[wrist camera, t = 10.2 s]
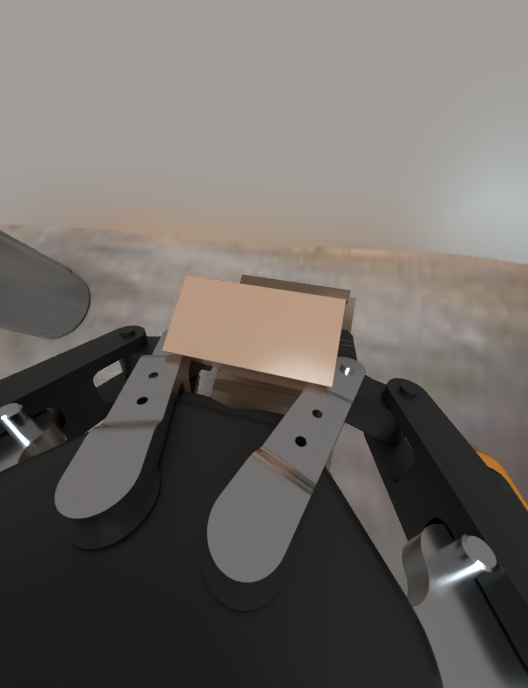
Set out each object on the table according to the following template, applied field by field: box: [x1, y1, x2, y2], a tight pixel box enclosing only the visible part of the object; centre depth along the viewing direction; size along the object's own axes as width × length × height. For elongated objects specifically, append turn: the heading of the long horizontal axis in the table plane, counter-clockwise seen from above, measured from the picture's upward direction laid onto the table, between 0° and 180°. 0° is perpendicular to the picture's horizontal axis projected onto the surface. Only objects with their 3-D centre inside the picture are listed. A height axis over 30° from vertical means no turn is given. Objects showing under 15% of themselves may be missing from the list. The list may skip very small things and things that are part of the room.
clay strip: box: [162, 275, 346, 391], centre depth 12 cm, size 2×5×11 cm, turn 78°
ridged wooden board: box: [211, 275, 356, 471], centre depth 22 cm, size 19×13×6 cm
